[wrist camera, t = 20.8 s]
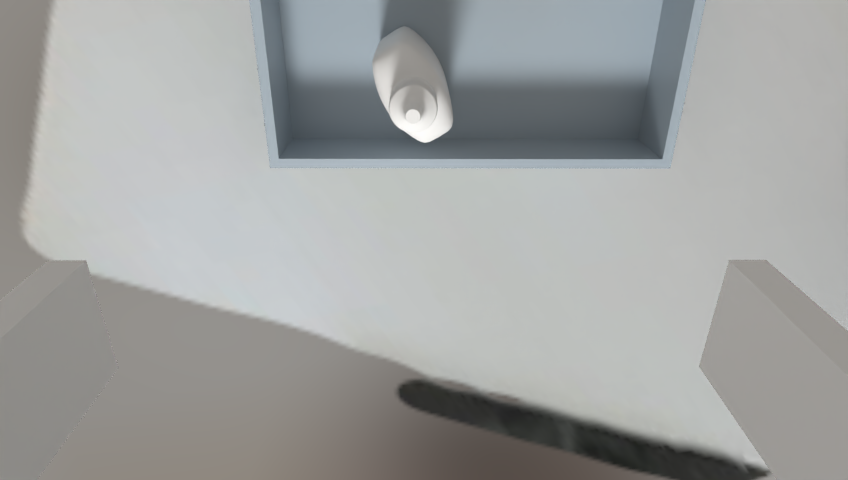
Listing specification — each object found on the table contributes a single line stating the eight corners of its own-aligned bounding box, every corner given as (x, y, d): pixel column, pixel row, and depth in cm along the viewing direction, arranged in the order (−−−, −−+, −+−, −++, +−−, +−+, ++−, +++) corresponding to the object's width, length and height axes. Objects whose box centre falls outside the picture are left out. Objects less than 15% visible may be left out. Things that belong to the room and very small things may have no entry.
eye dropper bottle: (383, 113, 38) (370, 175, 28) (378, 26, 36) (360, 55, 25) (448, 111, 38) (460, 171, 27) (446, 23, 36) (459, 52, 25)
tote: (695, -146, 32) (740, -163, 28) (642, 144, 40) (670, 168, 36) (255, -150, 32) (228, -167, 28) (286, 144, 40) (270, 168, 35)
